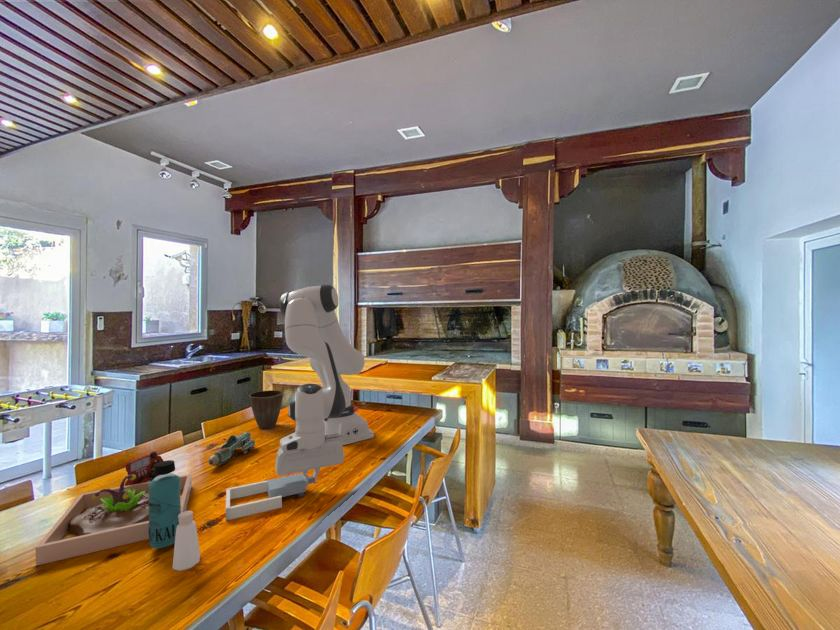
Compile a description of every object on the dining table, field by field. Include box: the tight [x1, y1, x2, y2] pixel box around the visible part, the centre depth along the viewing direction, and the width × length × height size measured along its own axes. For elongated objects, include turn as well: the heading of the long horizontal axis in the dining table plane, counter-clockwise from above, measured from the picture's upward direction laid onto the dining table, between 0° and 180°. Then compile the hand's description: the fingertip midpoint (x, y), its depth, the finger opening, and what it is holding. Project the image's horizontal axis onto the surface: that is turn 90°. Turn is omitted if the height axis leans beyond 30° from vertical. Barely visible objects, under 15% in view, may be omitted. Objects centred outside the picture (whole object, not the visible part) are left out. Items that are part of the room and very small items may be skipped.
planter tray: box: [35, 473, 193, 567], centre depth 100 cm, size 27×27×4 cm
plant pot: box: [249, 389, 284, 430], centre depth 178 cm, size 15×15×16 cm
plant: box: [68, 474, 149, 536], centre depth 101 cm, size 20×20×11 cm
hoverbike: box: [207, 430, 256, 466], centre depth 141 cm, size 10×25×8 cm, turn 174°
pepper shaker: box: [172, 510, 201, 572], centre depth 82 cm, size 5×5×11 cm
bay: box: [225, 480, 283, 522], centre depth 107 cm, size 14×13×3 cm
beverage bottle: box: [148, 459, 182, 549], centre depth 88 cm, size 6×7×20 cm
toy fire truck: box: [124, 451, 164, 486], centre depth 118 cm, size 7×12×10 cm, turn 167°
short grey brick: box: [266, 472, 309, 498], centre depth 111 cm, size 11×7×4 cm, turn 118°
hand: (311, 482), depth 114 cm, fingers closed
